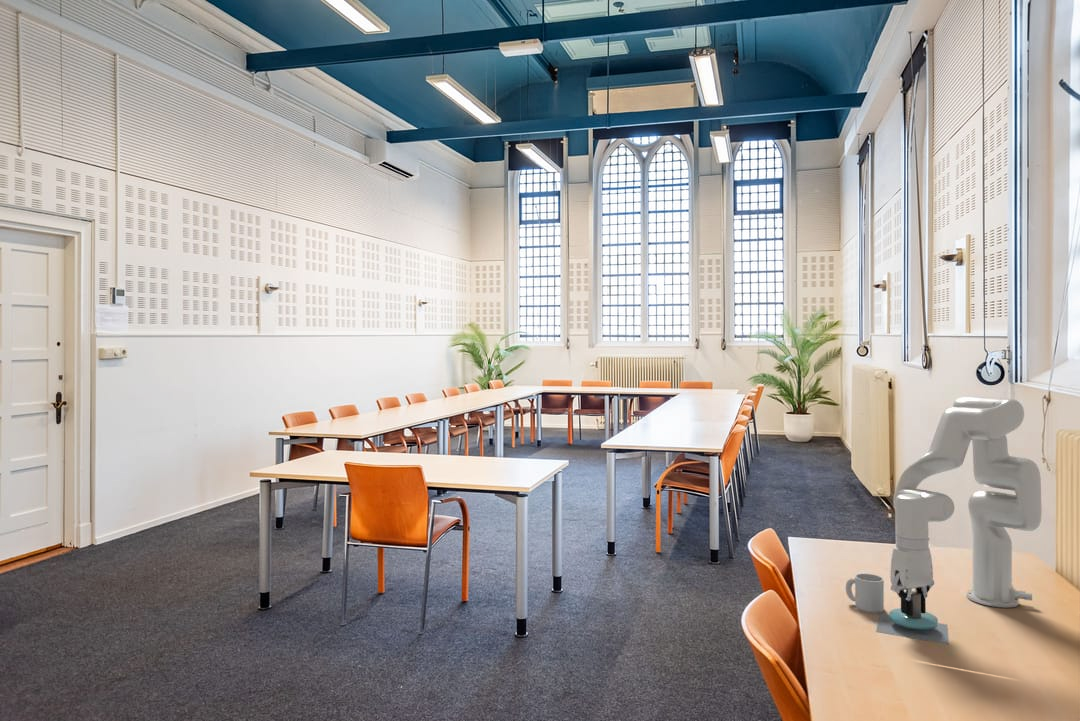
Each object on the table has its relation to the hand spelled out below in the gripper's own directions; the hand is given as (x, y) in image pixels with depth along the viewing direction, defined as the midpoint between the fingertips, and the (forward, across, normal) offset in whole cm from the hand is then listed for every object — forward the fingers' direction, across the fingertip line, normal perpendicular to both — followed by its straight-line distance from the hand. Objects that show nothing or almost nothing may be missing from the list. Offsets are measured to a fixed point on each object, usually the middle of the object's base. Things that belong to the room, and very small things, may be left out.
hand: (913, 612), depth 177 cm
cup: (+5, +1, -16) cm, 17 cm away
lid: (+2, 0, 0) cm, 2 cm away
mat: (+4, +1, 0) cm, 4 cm away
